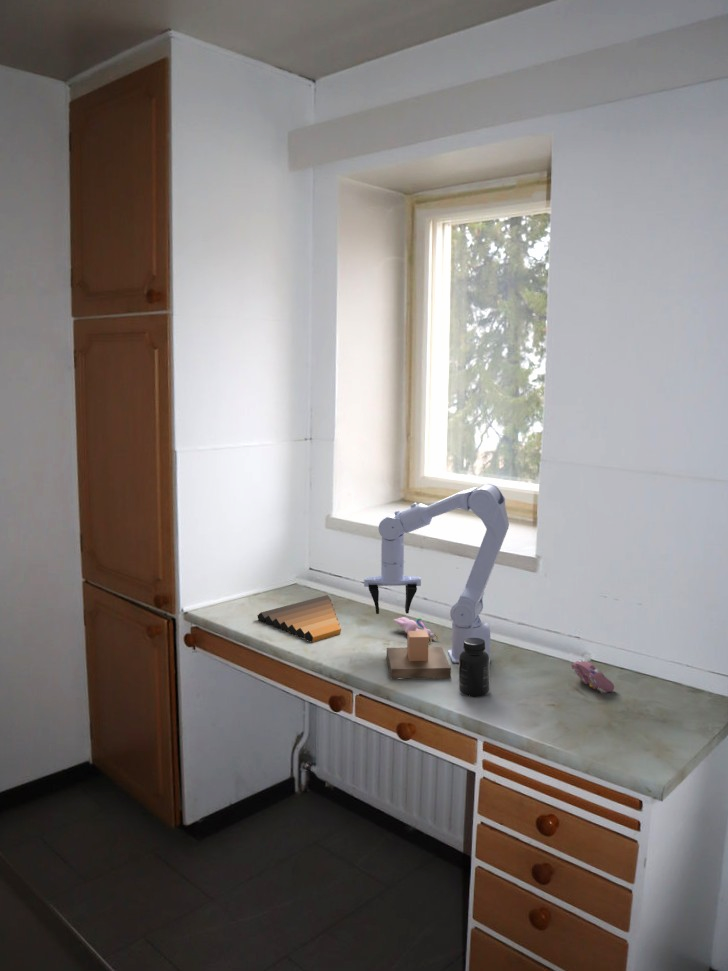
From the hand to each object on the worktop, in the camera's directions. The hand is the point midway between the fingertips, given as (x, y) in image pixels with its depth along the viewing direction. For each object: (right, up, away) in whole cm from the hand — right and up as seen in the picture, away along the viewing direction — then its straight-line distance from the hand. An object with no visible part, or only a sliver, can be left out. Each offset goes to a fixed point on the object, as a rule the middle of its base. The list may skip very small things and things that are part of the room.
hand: (392, 612), depth 210 cm
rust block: (+6, -9, -12) cm, 16 cm away
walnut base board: (+6, -11, -12) cm, 18 cm away
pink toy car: (+45, -14, -23) cm, 52 cm away
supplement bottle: (+18, -14, -26) cm, 34 cm away
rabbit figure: (+6, -8, +11) cm, 15 cm away
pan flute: (-20, -7, +22) cm, 31 cm away
